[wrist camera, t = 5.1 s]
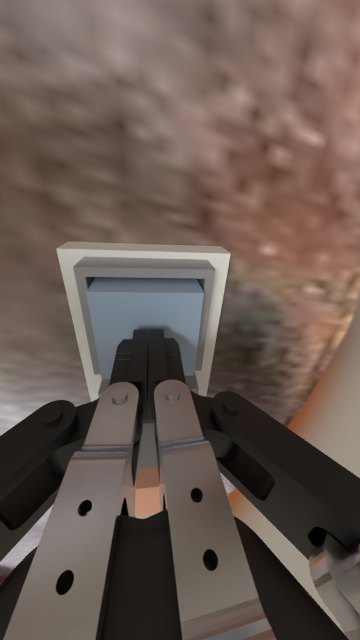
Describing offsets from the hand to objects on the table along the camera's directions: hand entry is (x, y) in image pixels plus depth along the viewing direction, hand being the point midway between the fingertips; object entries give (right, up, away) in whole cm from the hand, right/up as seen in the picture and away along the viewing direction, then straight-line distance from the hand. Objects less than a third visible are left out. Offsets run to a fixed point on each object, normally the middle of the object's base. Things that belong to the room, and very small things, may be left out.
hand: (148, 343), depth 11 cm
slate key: (0, +1, +3) cm, 3 cm away
